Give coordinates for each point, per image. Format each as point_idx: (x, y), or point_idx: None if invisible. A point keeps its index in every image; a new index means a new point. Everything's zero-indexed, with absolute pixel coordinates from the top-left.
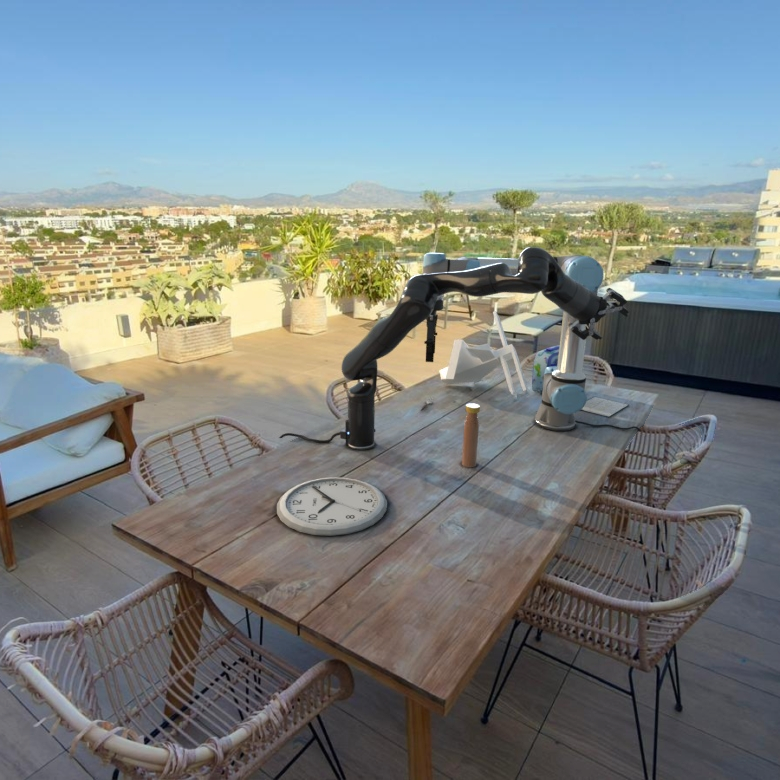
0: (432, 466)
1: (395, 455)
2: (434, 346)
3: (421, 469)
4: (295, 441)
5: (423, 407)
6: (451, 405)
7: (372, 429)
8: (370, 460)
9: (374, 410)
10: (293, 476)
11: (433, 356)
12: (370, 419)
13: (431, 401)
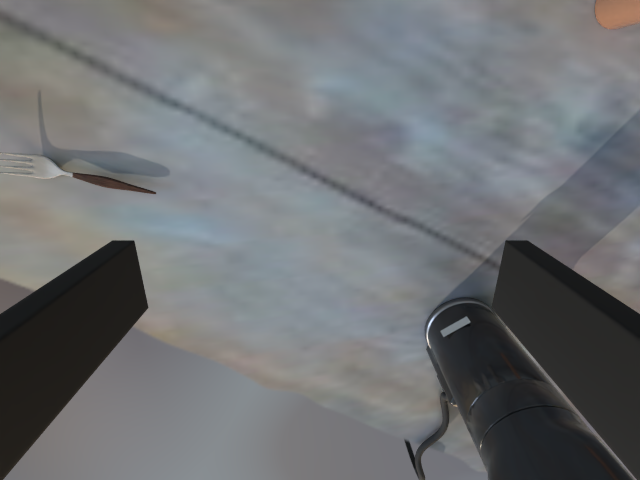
0: (615, 129)
1: (529, 238)
2: (88, 281)
3: (630, 160)
4: (440, 450)
5: (122, 186)
6: (31, 71)
7: (503, 331)
8: None
9: (515, 368)
10: None
11: (568, 267)
12: (530, 360)
13: (33, 159)
